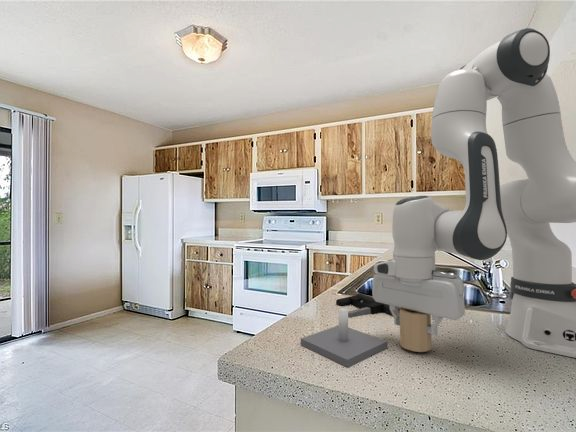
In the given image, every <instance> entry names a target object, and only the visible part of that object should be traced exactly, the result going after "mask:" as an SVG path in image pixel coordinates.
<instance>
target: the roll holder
mask: <svg viewBox="0 0 576 432" xmlns="http://www.w3.org/2000/svg"><path fill="white" fill-rule="evenodd" d="M348 312H349V308H346V307H340V308H338V313H337V315H338V325H335V326H333V327H330V328H327V329H324V330H321V331H318V332H315V333H312V334H310V335H306V336H303V337H301V338H300V346H302V347H304V348H306V349H309V350H310V351H313V352H315V353H317V354H319V355H321V356H323V357H325V358H327V359H329V360H332V361H334V362H335V363H338V364H340V365H342V366H344V367H345V368H349V367H351V366H354V365H355V364H357V363H360V362H361V361H363V360H366V359H367V358H369V357H371V356H374V355H376V354H378V353H380V352H382V351H384V350H386V349H388V346H389V343H388V340H386V339H383V338H380V337H377V336H374V335H371V334H368V333H365V332H362V331H360V330H357V329H354V328H351V327H349V317H348Z"/></svg>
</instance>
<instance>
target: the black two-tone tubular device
mask: <svg viewBox="0 0 576 432" xmlns="http://www.w3.org/2000/svg"><path fill="white" fill-rule="evenodd" d="M335 304H336V305H337V306H338V305H339V306H340V307H344V306H345V305H346V306H352V305H353V306H352V307H354V306H355V307H354V308H357V309H354V310H350V311H349V310H348V318H355V317H361V316H367V315H378V314H383V313H386V314H389V315H391V316H393V315H392V313H391V311H390V305H388V304H384V303H380V302H376V301H375V300H374V298H373V296H370V295H366V294H364V293H361V292H358V293H357V294H356V295H351V296H346V297H342V298H338V299H336V300H335ZM350 304H351V305H350ZM346 306H345V307H346ZM398 311H399V313H400V308H399V309H398Z"/></svg>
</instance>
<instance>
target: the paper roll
mask: <svg viewBox="0 0 576 432" xmlns="http://www.w3.org/2000/svg"><path fill="white" fill-rule="evenodd" d="M431 320H432V315H430V314H426V313H422V312H418V311H413V310H409V309H405V308H401V307H400V326H399V334H400V335H399V340H400V341H399V345H400V347H402V348H403V349H405V350H408V351H411V352H418V353H424V352H429V351H431V350H432V335H430V334H427V331H428V330H427V326H428V325H430V324H432V321H431Z"/></svg>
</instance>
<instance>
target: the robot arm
mask: <svg viewBox="0 0 576 432" xmlns="http://www.w3.org/2000/svg"><path fill="white" fill-rule="evenodd" d="M549 43H550V42H549V41H548V39H547V38H546V36H545V35H544V34H543V33H542V32H541V31H538V30H536V29H535V28H527V27H526V28H523V29H519V30H516V31H514V32H512V33H509V34H508V35H506V36H504V37H503V38H502V39H501V40H499V41H497V42H494V43H493V44H492V45H490V46H488V47H486V49H484V50H482V51H480V53H479V54H478V55H476V56H475V57H474V58H473V59H471V60H470V61H469V62H468V63H466V64H465V65H463V66H462V67H460V68H459V69H456V70H454V71H451V72H449V73H448V74H446V75H445V76H444V77H443V78H442V80H441V81H440V83H439V84H438V85H439V86H438V89H437V91H436V94H435V98H434V99H435V100H434V104H433V110H432V115H431V118H432V119H431V125H430V127H431V128H430V138H431V144H432V146H433V148H434V149H435V150H436V151H437V152H438V153H439V154H441V155H443V156H445V157H446V158H449V159H453V160H456V161H458V162H460V164H461V165H462V167H463V170H464V184H465V206H464V208H463V209H461V210H459V209H457V210H456V209H455V210H454V209H453V210H452V209H450V208H446V207H444V206H442V205H440V204H438V203H436V202H435V201H434V200H432V198H431V196H429V195H417V196H409V197H406V198H403V199H402V198H401V199H399V200H398V201H397V202H396V203H395V205H394V207H393V212H392V213H393V214H392V226H391V227H392V238H393V243H394V245H393V250H392V251H393V252H392V259H388V260H386V261H382V262H378V263H375V264H374V265H373V272H374V273H375V274H374V275H373V277H372V286H371V287H372V289H371V290H372V292H371V293H372V294H371V295H372V298H374V300H375V301H376V302H380V303H384V304H388V305H390V311H391V313H392V315H391V316H393V318H394V321H393V324H394V325H395V326H399V327H400V313H399V311H398V309H399V308H400V307H401V308H405V309H409V310H413V311H418V312H422V313H426V314H430V315H431V320H432V321H433V322H432V323H431V324H430V325H428V326H427V330H428V331H427V334H430V335H431V336H433V337H435V336H436V335H438V331H439V330H438V326H439V325H440V324H441V322H442V320H443V318H444V319H447V320H452V321H457V320H459V319H461V318H463V316H465V314H466V307H465V299H464V289H465V287H464V286H465V285H464V280H463V279H462V278H461V277H460V276H458V275H457V274H456V273H454V272H445V271H442V270H441V271H440V270H436V251H439V252H440V251H441V252H445V253H448V254H449V253H450V254H456V255H461V256H463V257H467V258H471V259H473V260H477V261H486V260H489V259H491V258H492V257H493V258H494V256H496V255H497V254H498V253H499V252H500V251H501V250H502V249H503V247H504V246H505V244H506V242H507V240H508V239H509V243H510V245H511V256H512V257H511V258H512V276H511V277H510V284H509V287H510V288H509V291H510V292H509V293H510V299H511V308H510V314H509V318H508V322H507V326H506V328H505V333H506V335H508V336H509V337H510V338H512V339H514V340H515V341H518V342H519V343H521V344H522V345H523V346H524V347H526V348H529V349H532V350H536V351H542V352H546V353H551V354H556V355H561V356H565V357H568V358H569V357H570V358H575V359H576V283H574V282H573V267H572V266H573V264H572V262H573V261H572V257H573V255H572V251H571V248H570V247H569V246H568V244H567V243H565V242H563V241H562V240H561V239H559V238H557V236H556V235H555V233H554V232H553V230H552V228H551V225H550V224H551V223H552V224H572V223H576V160H575V159H574V157H572V154H571V153H570V151H569V149H568V146H567V143H566V138H565V133H564V128H563V121H562V114H561V112H562V111H561V106H560V102H559V98H558V94H557V91H556V89H555V88H556V87H555V85H554V83H553V81H552V78H551V76H549V74H547V72H548V68H549V64H550V57H551V50H550V49H551V47H550V44H549ZM495 98H496V99H497V100H498V102H499V103H500V105H501V122H502V130H503V138H504V140H503V141H504V148H505V154H506V157H507V159H508V160H510V161H512V162H513V163H515V164H518V165H520V166H521V167H522V169H523V170H524V171H525V173H526V176H527V179H519V180H511V181H509V182H507V183H504V184H502V185H500V184H501V183H500V168H499V159H498V150H497V146H496V142H495V140H494V138H493V136H491V135H490V134H488V131H487V111H488V110H487V101H490V100H492V99H495ZM507 238H508V239H507Z"/></svg>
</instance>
